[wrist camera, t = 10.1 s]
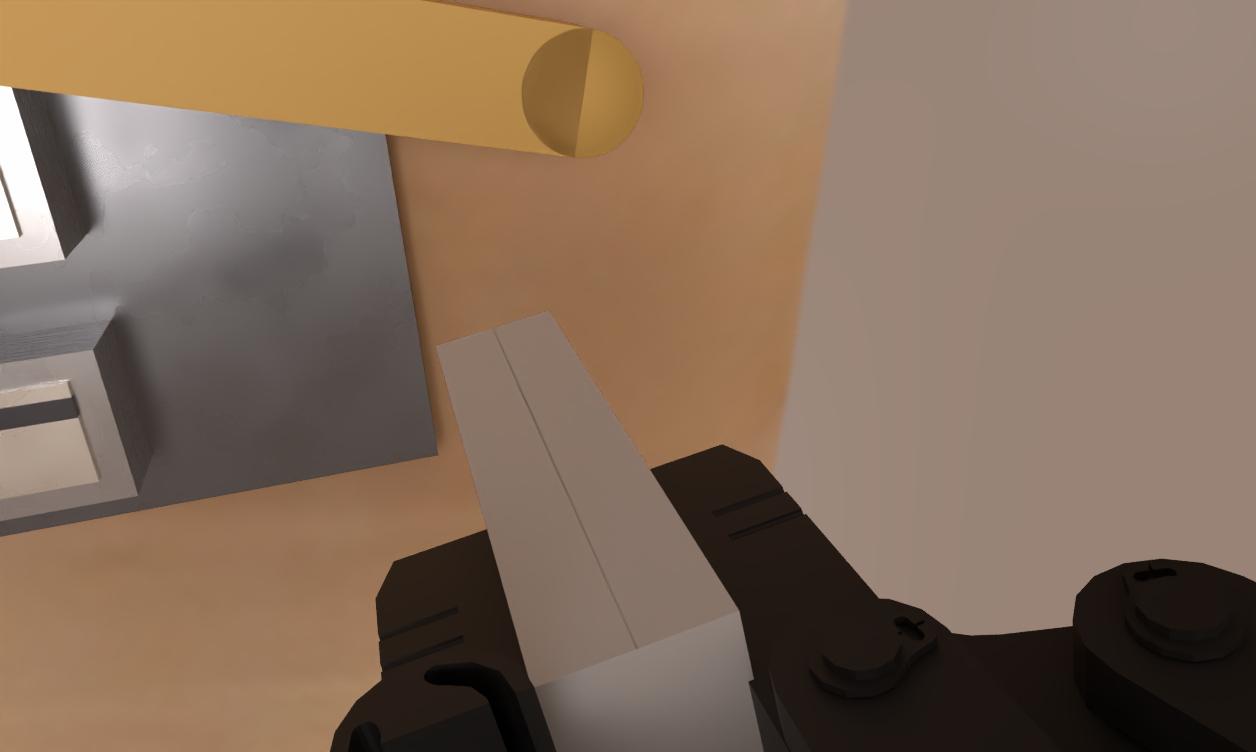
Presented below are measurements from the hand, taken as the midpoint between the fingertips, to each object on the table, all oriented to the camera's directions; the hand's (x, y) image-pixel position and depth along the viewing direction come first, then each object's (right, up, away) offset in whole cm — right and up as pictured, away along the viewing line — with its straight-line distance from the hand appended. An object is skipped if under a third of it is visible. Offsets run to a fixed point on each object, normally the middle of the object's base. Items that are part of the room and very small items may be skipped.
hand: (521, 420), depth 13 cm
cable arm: (-8, +10, +13) cm, 19 cm away
